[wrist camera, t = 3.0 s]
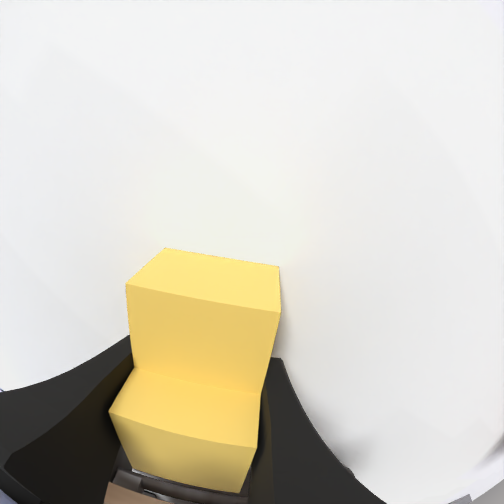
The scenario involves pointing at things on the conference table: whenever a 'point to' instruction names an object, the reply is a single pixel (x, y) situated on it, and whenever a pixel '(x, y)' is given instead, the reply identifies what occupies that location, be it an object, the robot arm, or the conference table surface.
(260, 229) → the conference table surface
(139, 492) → the trolley
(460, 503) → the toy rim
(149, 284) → the yellow step block
